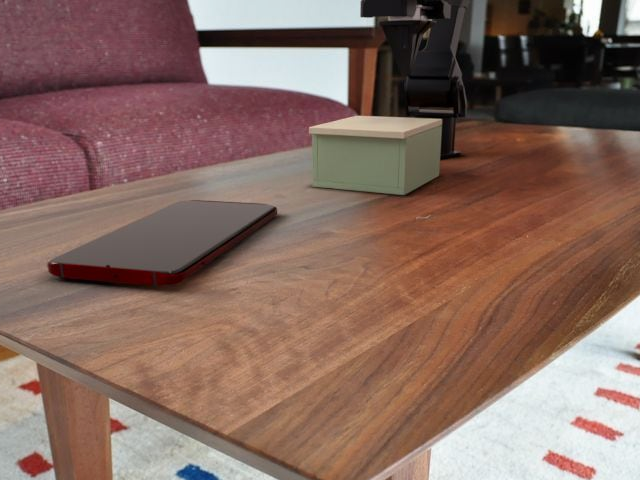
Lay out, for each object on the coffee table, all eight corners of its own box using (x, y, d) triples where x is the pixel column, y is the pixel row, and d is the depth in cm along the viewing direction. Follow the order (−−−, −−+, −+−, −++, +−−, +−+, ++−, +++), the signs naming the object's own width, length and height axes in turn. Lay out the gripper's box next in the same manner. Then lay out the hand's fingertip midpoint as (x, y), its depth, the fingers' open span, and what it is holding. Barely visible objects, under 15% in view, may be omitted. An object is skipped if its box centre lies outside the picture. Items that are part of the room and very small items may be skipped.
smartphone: (282, 203, 73) (177, 272, 50) (282, 217, 73) (178, 292, 51) (179, 197, 76) (37, 261, 53) (180, 211, 76) (40, 279, 54)
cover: (403, 138, 78) (404, 131, 78) (308, 133, 84) (308, 127, 83) (442, 125, 90) (442, 118, 90) (356, 121, 96) (356, 115, 95)
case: (404, 195, 81) (406, 138, 79) (312, 186, 87) (311, 133, 84) (439, 176, 92) (442, 125, 90) (356, 169, 98) (356, 121, 96)
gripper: (449, -66, 76) (441, 80, 81) (490, -49, 91) (481, 72, 96) (359, -58, 81) (357, 79, 86) (413, -43, 96) (408, 72, 101)
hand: (406, 75), depth 92 cm, fingers closed
